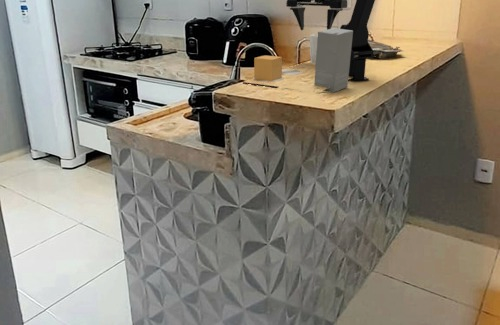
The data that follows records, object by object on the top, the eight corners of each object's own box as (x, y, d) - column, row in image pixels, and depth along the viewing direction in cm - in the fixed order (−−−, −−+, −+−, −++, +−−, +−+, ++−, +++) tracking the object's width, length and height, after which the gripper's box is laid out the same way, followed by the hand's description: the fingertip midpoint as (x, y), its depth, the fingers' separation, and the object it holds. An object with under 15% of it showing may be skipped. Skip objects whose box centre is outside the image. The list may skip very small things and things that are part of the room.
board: (311, 75, 153) (311, 71, 152) (276, 88, 135) (276, 83, 135) (280, 72, 158) (280, 68, 158) (242, 83, 141) (242, 79, 140)
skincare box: (328, 84, 140) (331, 27, 134) (350, 88, 135) (355, 29, 130) (312, 89, 133) (314, 30, 128) (335, 93, 129) (339, 31, 124)
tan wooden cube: (281, 77, 142) (282, 57, 140) (271, 81, 138) (272, 59, 136) (264, 75, 145) (264, 55, 143) (254, 79, 141) (254, 58, 139)
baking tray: (413, 56, 193) (414, 42, 191) (390, 63, 177) (392, 47, 175) (345, 49, 211) (346, 36, 209) (319, 54, 195) (320, 40, 193)
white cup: (330, 66, 168) (332, 36, 165) (307, 65, 170) (309, 36, 166) (331, 62, 175) (333, 34, 172) (309, 62, 177) (311, 33, 173)
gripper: (355, -21, 154) (351, 30, 159) (301, -22, 163) (300, 27, 168) (342, -21, 145) (338, 33, 150) (286, -21, 154) (284, 30, 159)
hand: (315, 30), depth 157 cm, fingers open, 9 cm apart
